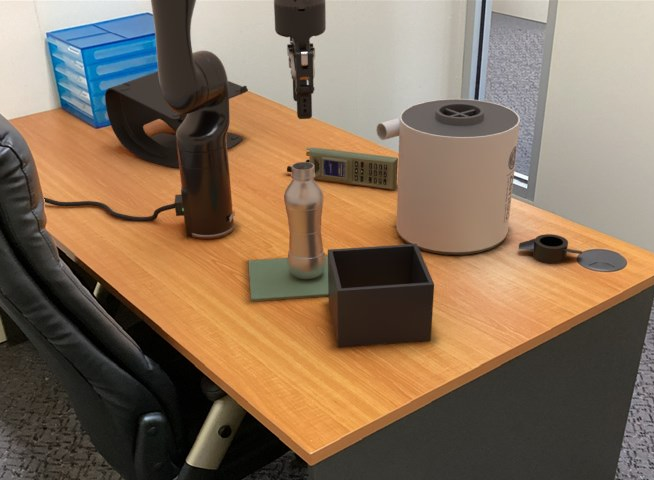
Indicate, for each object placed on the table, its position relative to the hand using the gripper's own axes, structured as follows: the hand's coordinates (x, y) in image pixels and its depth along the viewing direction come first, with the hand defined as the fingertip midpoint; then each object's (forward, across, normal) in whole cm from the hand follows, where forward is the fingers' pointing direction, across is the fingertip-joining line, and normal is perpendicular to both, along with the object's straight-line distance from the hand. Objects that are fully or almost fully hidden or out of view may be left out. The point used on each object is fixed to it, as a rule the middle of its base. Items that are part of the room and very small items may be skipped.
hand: (302, 109), depth 132 cm
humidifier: (+30, -14, +27) cm, 43 cm away
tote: (+30, +17, +10) cm, 35 cm away
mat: (+30, +1, 0) cm, 30 cm away
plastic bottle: (+29, 0, 0) cm, 29 cm away
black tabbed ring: (+30, -2, +44) cm, 53 cm away
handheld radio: (+30, -41, +11) cm, 52 cm away
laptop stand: (+30, -69, -24) cm, 79 cm away
